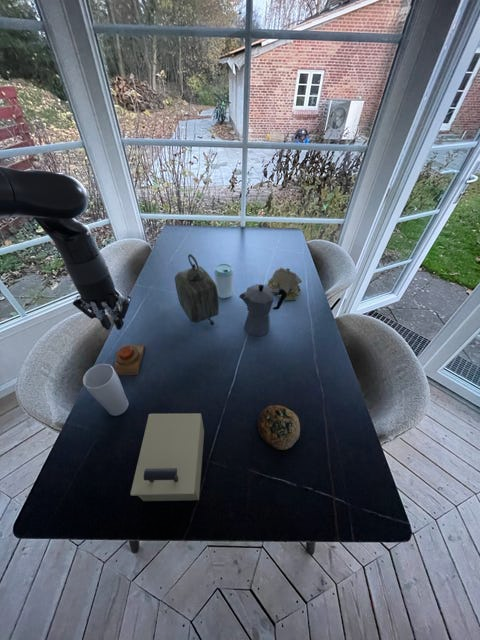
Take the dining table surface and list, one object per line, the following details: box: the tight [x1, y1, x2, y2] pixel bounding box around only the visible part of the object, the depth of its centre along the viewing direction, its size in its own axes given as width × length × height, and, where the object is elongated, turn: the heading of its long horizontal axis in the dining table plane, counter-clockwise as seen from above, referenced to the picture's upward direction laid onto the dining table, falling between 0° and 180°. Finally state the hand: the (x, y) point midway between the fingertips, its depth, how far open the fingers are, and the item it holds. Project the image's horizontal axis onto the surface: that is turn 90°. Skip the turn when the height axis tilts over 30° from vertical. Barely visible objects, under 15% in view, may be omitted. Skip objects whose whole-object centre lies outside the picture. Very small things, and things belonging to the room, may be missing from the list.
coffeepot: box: [238, 283, 287, 337], centre depth 86 cm, size 15×9×18 cm, turn 101°
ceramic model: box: [267, 267, 303, 301], centre depth 103 cm, size 14×11×10 cm
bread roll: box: [256, 404, 301, 451], centre depth 66 cm, size 11×11×5 cm
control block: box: [112, 344, 146, 376], centre depth 79 cm, size 10×7×4 cm
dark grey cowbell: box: [174, 253, 220, 326], centre depth 86 cm, size 14×9×25 cm, turn 31°
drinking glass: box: [82, 363, 130, 417], centre depth 65 cm, size 7×7×15 cm
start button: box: [119, 347, 134, 360], centre depth 78 cm, size 4×4×2 cm
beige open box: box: [138, 415, 205, 502], centre depth 58 cm, size 15×12×9 cm
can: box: [213, 263, 234, 299], centre depth 100 cm, size 7×7×12 cm
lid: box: [129, 413, 202, 497], centre depth 52 cm, size 15×12×5 cm
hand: (114, 327), depth 70 cm, fingers closed
